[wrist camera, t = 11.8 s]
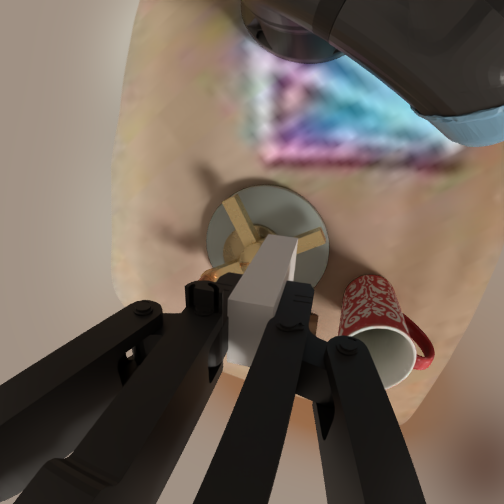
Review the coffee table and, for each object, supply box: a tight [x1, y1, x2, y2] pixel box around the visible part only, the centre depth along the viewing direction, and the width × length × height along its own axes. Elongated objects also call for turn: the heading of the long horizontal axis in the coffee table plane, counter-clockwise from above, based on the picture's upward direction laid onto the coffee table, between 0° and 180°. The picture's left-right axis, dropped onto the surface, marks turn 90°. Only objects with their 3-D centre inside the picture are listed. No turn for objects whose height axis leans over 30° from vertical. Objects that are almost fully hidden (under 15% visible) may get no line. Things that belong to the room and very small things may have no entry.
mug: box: [338, 275, 435, 390], centre depth 36 cm, size 13×9×14 cm
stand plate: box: [206, 185, 329, 288], centre depth 42 cm, size 16×16×2 cm
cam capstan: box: [198, 194, 326, 282], centre depth 39 cm, size 16×16×7 cm
